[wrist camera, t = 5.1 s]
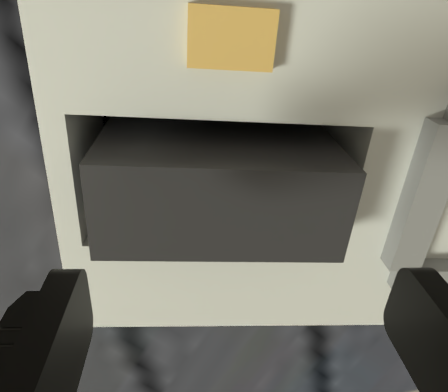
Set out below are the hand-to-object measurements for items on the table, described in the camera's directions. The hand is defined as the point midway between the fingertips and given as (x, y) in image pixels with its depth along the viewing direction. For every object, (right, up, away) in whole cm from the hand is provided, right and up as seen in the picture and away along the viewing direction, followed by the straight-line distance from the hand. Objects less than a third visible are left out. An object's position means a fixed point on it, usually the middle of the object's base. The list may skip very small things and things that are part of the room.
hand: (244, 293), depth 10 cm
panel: (+8, +5, +12) cm, 16 cm away
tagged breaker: (-1, +5, +11) cm, 13 cm away
